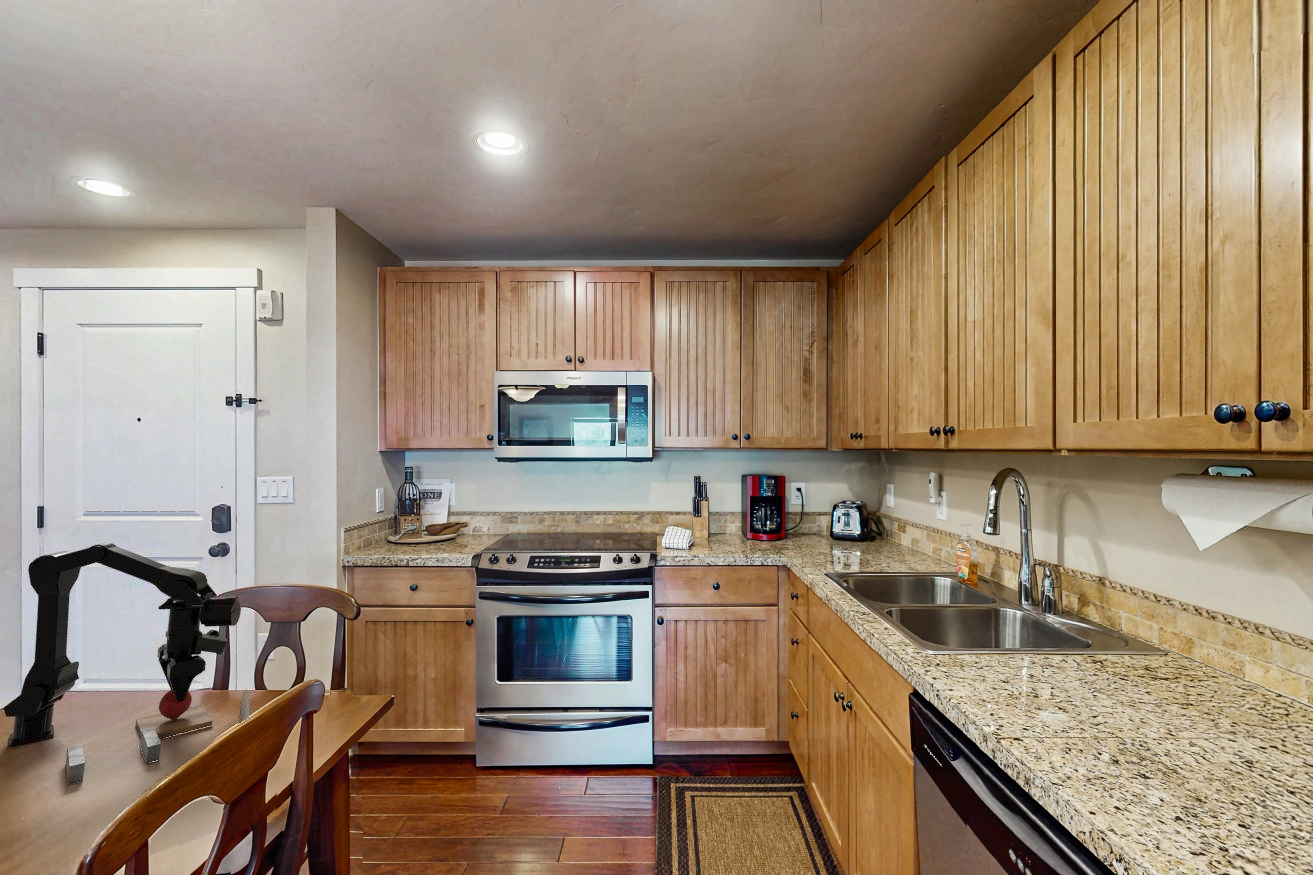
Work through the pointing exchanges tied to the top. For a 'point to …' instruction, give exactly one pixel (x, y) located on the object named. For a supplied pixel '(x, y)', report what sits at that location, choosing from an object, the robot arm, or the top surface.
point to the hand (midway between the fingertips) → (177, 695)
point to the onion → (174, 705)
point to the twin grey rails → (76, 760)
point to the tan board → (175, 722)
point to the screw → (244, 706)
